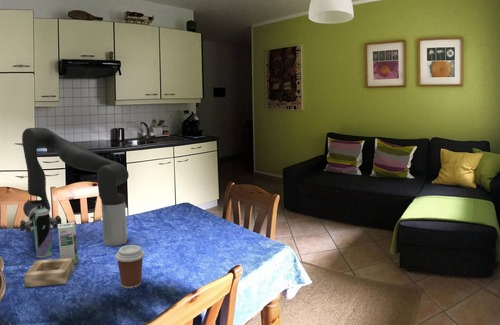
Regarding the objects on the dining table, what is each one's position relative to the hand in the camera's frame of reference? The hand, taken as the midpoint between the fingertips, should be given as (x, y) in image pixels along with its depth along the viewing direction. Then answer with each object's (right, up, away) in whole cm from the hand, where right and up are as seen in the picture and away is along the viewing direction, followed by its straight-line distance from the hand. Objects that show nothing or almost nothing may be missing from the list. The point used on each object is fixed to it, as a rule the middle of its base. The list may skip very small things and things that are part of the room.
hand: (42, 228), depth 148 cm
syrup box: (+12, -12, -4) cm, 18 cm away
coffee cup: (+40, -15, -21) cm, 47 cm away
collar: (+12, -14, -16) cm, 24 cm away
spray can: (0, -11, +2) cm, 11 cm away
